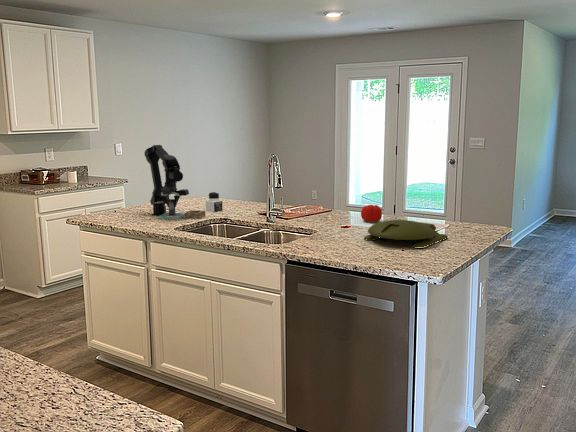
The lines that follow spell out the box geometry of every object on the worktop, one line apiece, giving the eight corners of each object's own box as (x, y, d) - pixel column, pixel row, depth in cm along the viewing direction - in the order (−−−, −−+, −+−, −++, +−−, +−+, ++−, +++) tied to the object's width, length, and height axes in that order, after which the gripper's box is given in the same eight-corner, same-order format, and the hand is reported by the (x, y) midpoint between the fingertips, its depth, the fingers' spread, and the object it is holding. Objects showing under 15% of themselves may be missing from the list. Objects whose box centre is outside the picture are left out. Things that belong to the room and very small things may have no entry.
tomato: (365, 219, 320) (365, 203, 319) (385, 221, 314) (385, 205, 313) (357, 222, 311) (357, 206, 310) (377, 224, 305) (378, 207, 304)
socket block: (185, 220, 319) (184, 213, 318) (190, 217, 328) (190, 210, 327) (200, 220, 317) (200, 213, 317) (205, 217, 326) (205, 210, 325)
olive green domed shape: (392, 230, 291) (392, 212, 289) (449, 239, 272) (450, 219, 270) (354, 243, 265) (355, 222, 263) (415, 253, 246) (416, 231, 244)
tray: (158, 220, 317) (157, 216, 316) (166, 216, 328) (166, 212, 328) (178, 221, 315) (178, 217, 314) (186, 217, 326) (186, 213, 326)
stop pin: (167, 215, 320) (167, 199, 318) (170, 214, 323) (169, 198, 322) (174, 215, 319) (173, 199, 317) (176, 214, 323) (175, 198, 321)
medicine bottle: (214, 213, 338) (213, 193, 336) (205, 212, 342) (205, 192, 340) (222, 212, 344) (222, 192, 341) (214, 210, 348) (213, 191, 346)
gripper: (149, 181, 311) (150, 209, 314) (181, 181, 308) (182, 210, 311) (157, 178, 322) (158, 205, 325) (188, 179, 319) (189, 206, 322)
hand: (171, 207), depth 320 cm, fingers closed on stop pin, 4 cm apart
